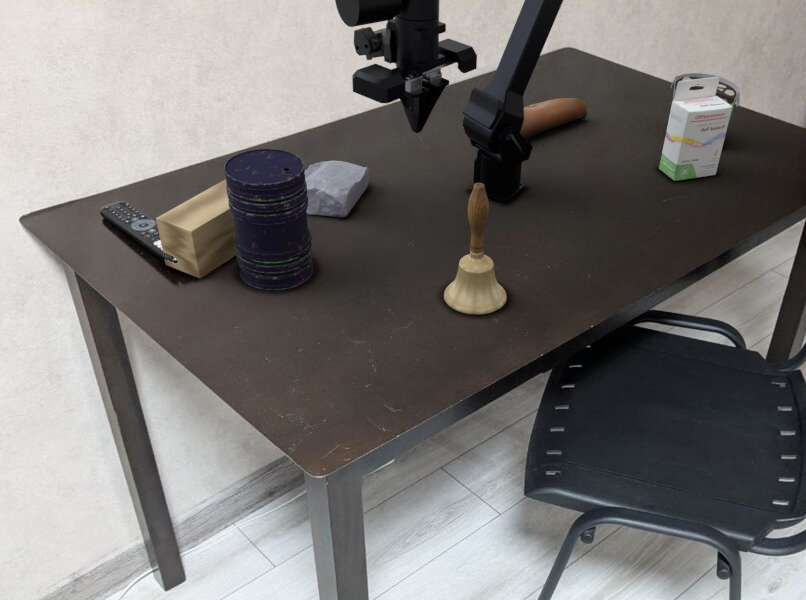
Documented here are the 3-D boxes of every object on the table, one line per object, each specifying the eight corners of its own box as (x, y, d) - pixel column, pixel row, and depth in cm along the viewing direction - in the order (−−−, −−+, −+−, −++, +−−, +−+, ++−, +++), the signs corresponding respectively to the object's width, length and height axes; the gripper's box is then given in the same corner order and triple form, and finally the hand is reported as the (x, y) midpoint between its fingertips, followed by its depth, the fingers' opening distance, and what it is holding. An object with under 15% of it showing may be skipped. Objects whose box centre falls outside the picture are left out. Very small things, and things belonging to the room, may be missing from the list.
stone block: (288, 221, 135) (350, 219, 133) (279, 190, 132) (343, 188, 130) (316, 188, 144) (375, 185, 142) (308, 159, 141) (369, 155, 139)
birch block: (269, 234, 129) (263, 188, 124) (200, 278, 120) (191, 231, 115) (236, 222, 131) (229, 176, 126) (165, 265, 122) (155, 217, 117)
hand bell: (433, 305, 118) (435, 192, 107) (458, 274, 124) (462, 164, 113) (493, 321, 116) (500, 208, 105) (515, 289, 122) (524, 178, 111)
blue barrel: (226, 283, 119) (208, 177, 109) (256, 246, 126) (243, 143, 116) (298, 296, 118) (287, 190, 108) (325, 257, 125) (317, 155, 115)
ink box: (673, 182, 148) (692, 92, 138) (657, 169, 152) (674, 80, 142) (717, 175, 151) (738, 86, 141) (701, 162, 154) (720, 74, 145)
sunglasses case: (552, 103, 168) (569, 78, 163) (574, 133, 167) (592, 108, 162) (482, 128, 158) (498, 102, 153) (505, 160, 158) (522, 135, 152)
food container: (739, 140, 162) (753, 84, 155) (726, 152, 158) (740, 95, 151) (676, 121, 167) (686, 66, 160) (661, 132, 163) (672, 76, 156)
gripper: (419, -16, 125) (419, 96, 136) (318, 13, 114) (326, 133, 125) (481, 4, 121) (476, 119, 131) (382, 36, 109) (385, 159, 120)
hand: (416, 131), depth 127 cm, fingers closed
